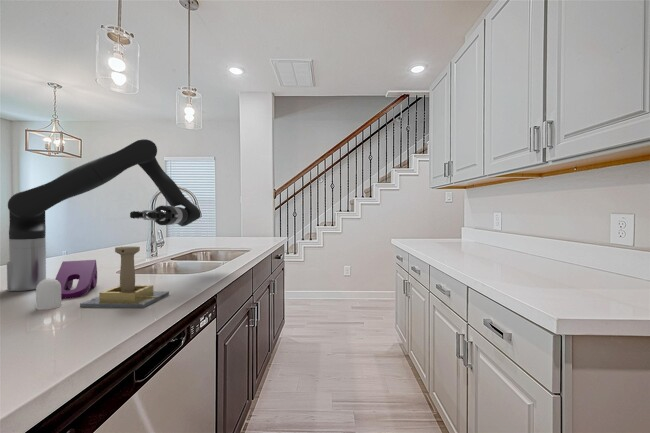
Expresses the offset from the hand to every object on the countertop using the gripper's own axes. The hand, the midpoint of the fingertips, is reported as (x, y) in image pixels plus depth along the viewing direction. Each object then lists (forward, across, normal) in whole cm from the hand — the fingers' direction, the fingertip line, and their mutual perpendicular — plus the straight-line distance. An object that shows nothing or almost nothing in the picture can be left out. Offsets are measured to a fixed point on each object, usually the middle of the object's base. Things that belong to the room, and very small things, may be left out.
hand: (143, 215), depth 109 cm
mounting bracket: (+4, -20, +26) cm, 34 cm away
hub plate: (+12, +3, +26) cm, 29 cm away
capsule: (+19, -15, +26) cm, 36 cm away
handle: (+12, +3, +25) cm, 28 cm away
